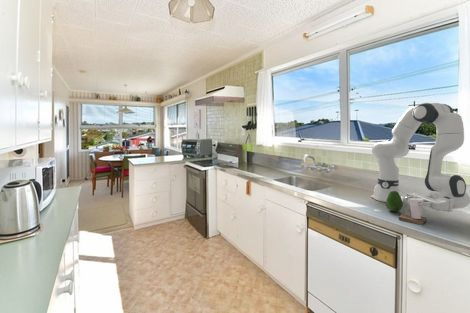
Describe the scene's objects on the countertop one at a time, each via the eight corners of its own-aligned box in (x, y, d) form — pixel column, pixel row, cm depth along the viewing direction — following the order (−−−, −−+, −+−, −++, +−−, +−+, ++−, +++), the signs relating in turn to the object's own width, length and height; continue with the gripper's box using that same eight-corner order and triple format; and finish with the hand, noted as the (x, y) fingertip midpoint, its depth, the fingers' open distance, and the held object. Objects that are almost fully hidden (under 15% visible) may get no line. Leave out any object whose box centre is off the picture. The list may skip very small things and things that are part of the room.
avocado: (388, 208, 149) (389, 188, 148) (403, 211, 143) (405, 191, 142) (383, 211, 143) (385, 190, 142) (399, 214, 138) (401, 193, 137)
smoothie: (409, 216, 132) (408, 189, 132) (424, 217, 128) (423, 190, 128) (407, 218, 127) (407, 190, 128) (423, 220, 123) (423, 191, 123)
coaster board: (403, 215, 137) (403, 212, 137) (425, 220, 130) (426, 217, 130) (398, 219, 130) (398, 216, 130) (422, 225, 123) (422, 222, 123)
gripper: (420, 190, 140) (397, 190, 139) (456, 200, 120) (429, 200, 119) (419, 200, 141) (396, 201, 140) (454, 213, 121) (428, 213, 119)
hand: (412, 201), depth 129 cm, fingers open, 8 cm apart
